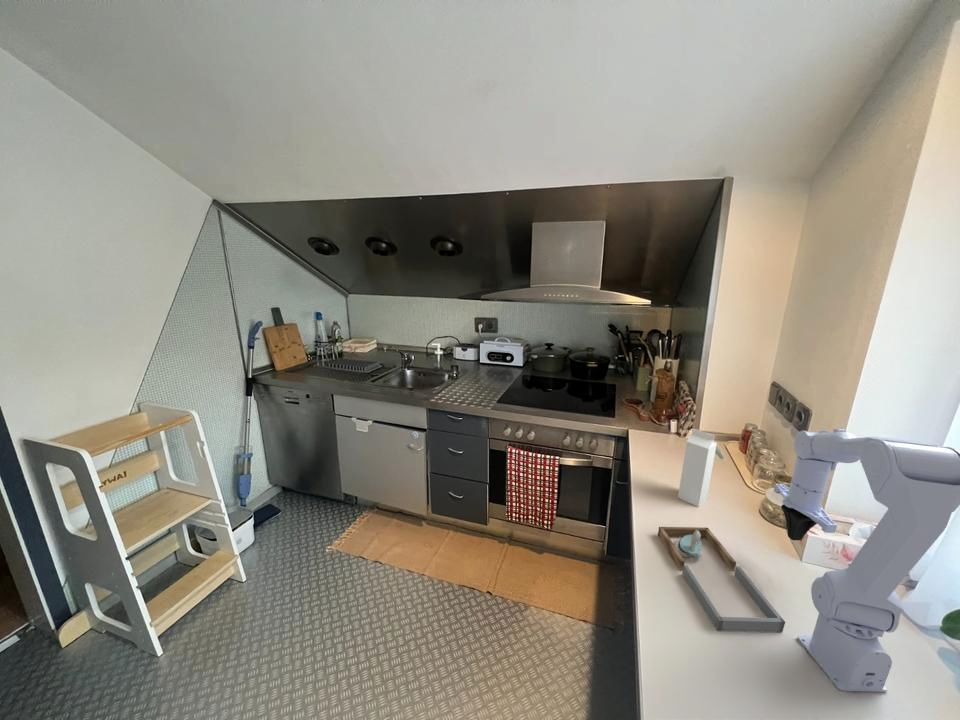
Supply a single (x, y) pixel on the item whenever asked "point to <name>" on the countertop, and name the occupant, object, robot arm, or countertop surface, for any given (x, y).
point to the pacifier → (690, 545)
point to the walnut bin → (683, 531)
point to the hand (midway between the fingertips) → (794, 538)
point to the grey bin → (738, 623)
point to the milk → (697, 467)
